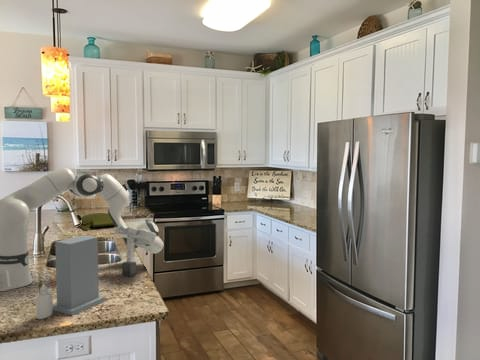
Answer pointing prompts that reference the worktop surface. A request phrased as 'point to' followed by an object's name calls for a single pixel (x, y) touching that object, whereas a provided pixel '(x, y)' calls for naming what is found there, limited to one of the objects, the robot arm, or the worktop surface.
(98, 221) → the olive green cushion
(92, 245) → the stand
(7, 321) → the worktop surface
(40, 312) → the eye dropper bottle
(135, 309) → the worktop surface
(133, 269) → the knobbed shaft
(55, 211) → the worktop surface
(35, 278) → the worktop surface
